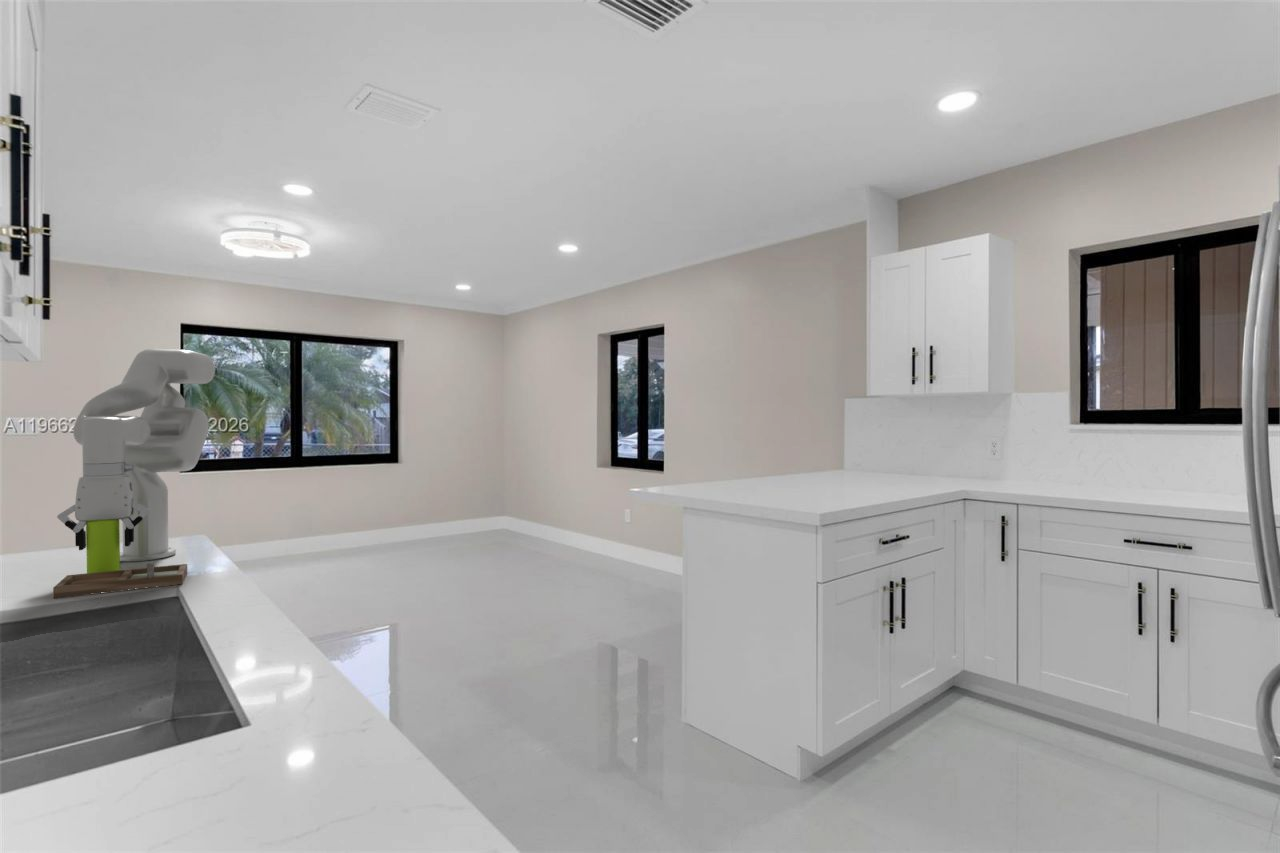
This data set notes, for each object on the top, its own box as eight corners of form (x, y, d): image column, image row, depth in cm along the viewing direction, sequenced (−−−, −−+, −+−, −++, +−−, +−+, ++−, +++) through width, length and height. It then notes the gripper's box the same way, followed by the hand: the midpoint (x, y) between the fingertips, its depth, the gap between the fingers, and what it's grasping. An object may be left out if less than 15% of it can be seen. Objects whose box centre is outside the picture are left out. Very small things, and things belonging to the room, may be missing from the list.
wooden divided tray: (67, 585, 142) (67, 561, 142) (187, 573, 153) (187, 551, 153) (53, 598, 132) (52, 573, 132) (182, 584, 143) (182, 561, 143)
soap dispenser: (110, 580, 147) (108, 491, 146) (80, 579, 147) (78, 491, 146) (131, 573, 152) (129, 488, 152) (102, 573, 153) (100, 488, 152)
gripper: (153, 468, 157) (154, 540, 157) (58, 471, 148) (59, 548, 148) (149, 470, 150) (150, 546, 151) (49, 473, 141) (50, 554, 142)
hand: (105, 546), depth 149 cm, fingers open, 7 cm apart
